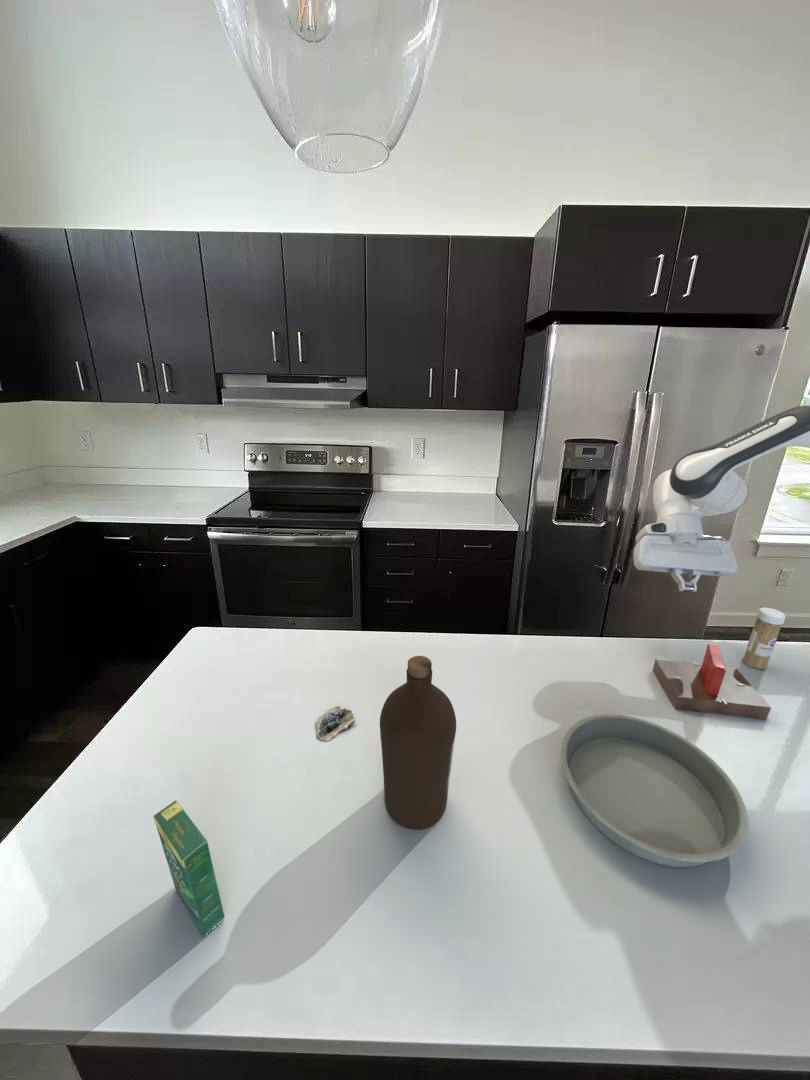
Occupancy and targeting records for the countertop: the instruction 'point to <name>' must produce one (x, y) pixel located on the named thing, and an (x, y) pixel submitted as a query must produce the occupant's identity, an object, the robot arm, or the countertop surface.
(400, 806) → the olive oil
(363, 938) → the countertop surface
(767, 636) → the sprinkles bottle
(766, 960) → the countertop surface
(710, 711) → the base
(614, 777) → the cake pan
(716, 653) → the red block
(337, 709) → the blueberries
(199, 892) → the coffee box
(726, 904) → the countertop surface
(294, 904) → the countertop surface
